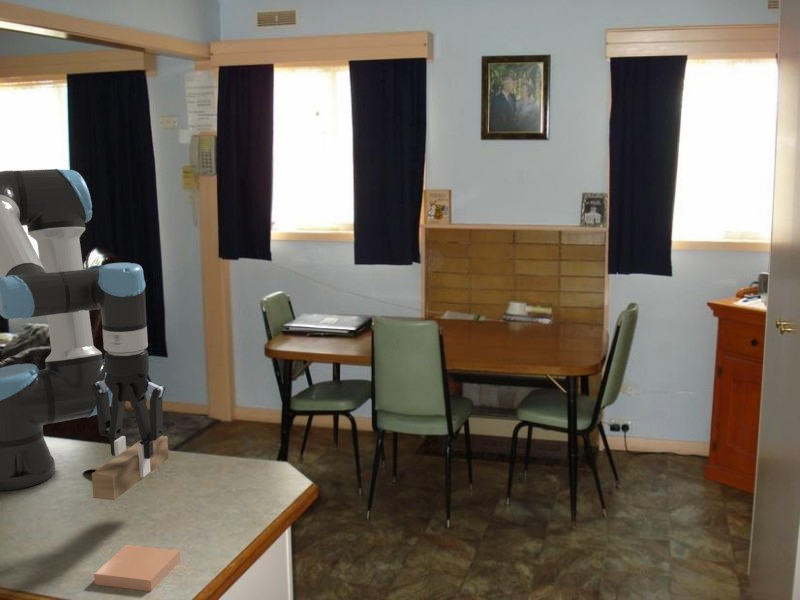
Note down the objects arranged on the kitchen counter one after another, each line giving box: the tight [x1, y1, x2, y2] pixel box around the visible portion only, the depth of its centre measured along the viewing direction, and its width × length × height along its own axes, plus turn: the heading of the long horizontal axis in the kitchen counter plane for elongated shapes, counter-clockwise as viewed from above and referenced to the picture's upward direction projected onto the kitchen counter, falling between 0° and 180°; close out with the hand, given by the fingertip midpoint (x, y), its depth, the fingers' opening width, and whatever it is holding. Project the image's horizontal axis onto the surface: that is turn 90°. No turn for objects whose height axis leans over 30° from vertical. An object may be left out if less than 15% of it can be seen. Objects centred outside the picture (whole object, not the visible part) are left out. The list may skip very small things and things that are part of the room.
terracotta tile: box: [93, 544, 181, 592], centre depth 141 cm, size 2×10×10 cm
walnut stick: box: [91, 435, 169, 501], centre depth 156 cm, size 20×4×4 cm, turn 168°
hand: (133, 472), depth 157 cm, fingers closed on walnut stick, 4 cm apart
